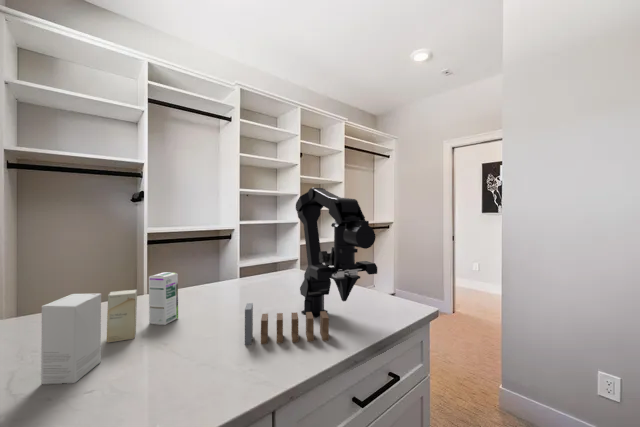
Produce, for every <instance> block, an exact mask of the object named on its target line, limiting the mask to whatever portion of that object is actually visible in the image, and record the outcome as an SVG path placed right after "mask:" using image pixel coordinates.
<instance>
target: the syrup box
mask: <svg viewBox="0 0 640 427" xmlns="http://www.w3.org/2000/svg"><path fill="white" fill-rule="evenodd" d="M148 309H149V310H148V315H149V316H148V321H149V324H150V325H151V324H152V325H160V326H166V325H168V324H169V323H171V322H174V321H175V320H177V319H179V274H178V273H177V272H172V271H171V272H170V271H168V272H167V271H166V272H165V271H164V272H161V273H160V272H159V273H157V274H154V275H149V276H148Z"/></svg>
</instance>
